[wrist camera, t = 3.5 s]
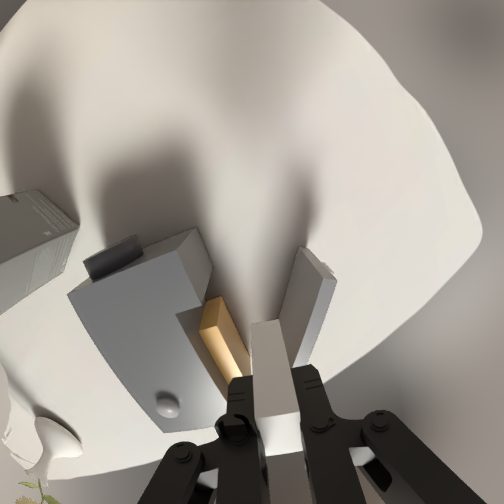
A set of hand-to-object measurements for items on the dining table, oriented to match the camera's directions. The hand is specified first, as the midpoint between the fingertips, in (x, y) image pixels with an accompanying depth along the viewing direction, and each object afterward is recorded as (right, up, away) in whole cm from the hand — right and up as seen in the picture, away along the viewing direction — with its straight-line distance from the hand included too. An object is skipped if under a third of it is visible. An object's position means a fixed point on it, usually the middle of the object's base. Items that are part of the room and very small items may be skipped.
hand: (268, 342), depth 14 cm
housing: (-7, -1, +12) cm, 14 cm away
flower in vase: (-38, -31, +19) cm, 53 cm away
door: (+3, 0, +12) cm, 12 cm away
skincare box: (-23, +7, +9) cm, 26 cm away
